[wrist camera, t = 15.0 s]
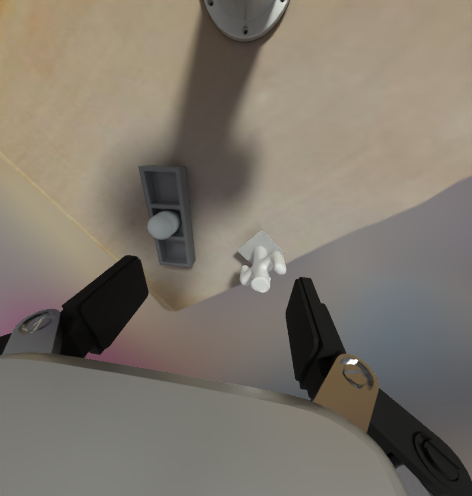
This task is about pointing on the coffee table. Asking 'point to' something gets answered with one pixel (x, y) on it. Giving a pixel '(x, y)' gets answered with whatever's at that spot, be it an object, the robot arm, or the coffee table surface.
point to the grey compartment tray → (170, 197)
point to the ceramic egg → (164, 224)
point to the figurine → (261, 261)
